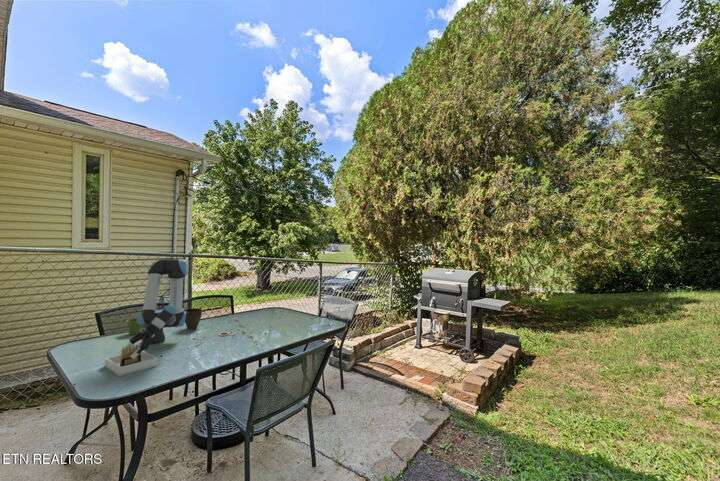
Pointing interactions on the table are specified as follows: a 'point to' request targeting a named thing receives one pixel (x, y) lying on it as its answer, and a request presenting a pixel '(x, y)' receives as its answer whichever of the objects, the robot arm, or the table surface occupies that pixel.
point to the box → (145, 363)
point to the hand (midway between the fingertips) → (127, 355)
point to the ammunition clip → (126, 356)
